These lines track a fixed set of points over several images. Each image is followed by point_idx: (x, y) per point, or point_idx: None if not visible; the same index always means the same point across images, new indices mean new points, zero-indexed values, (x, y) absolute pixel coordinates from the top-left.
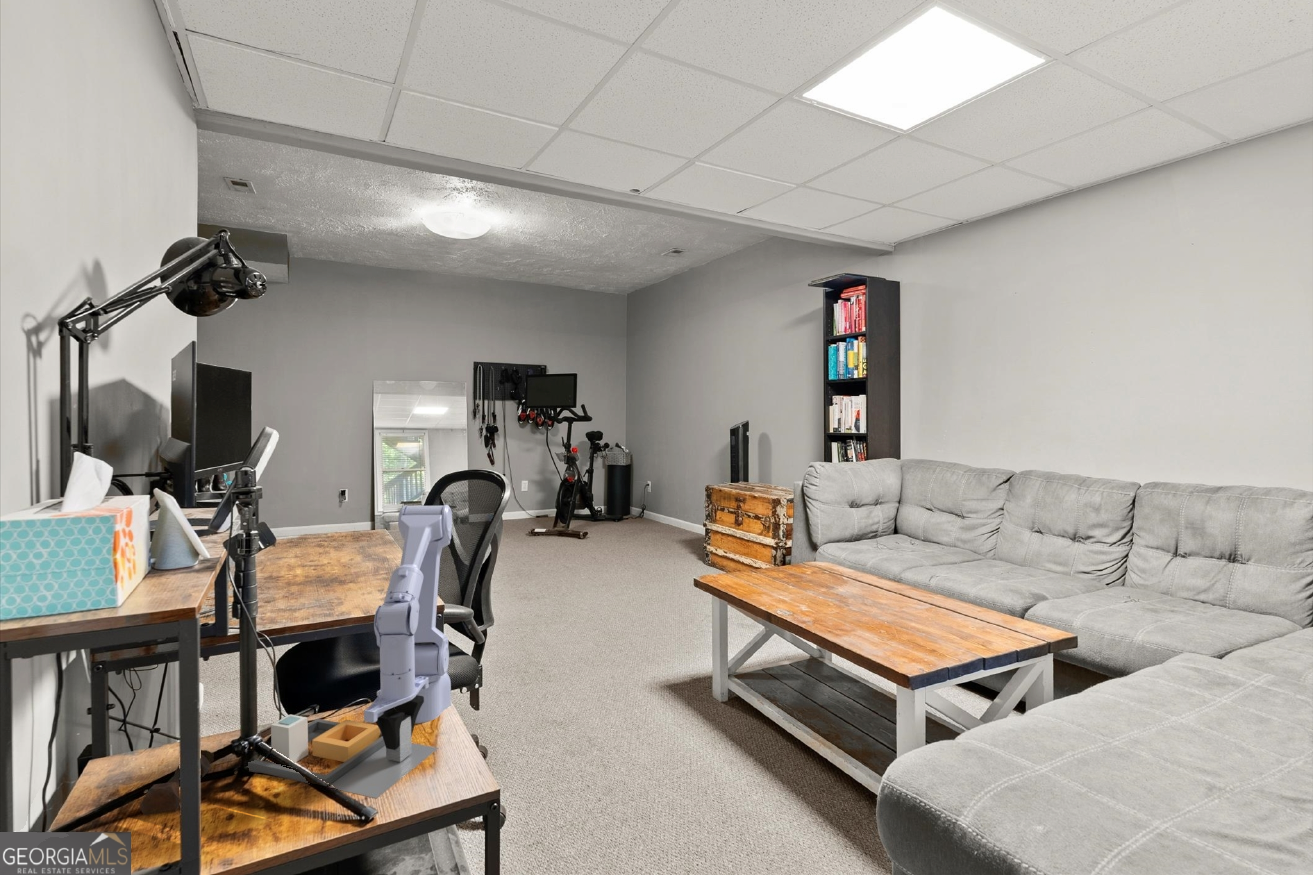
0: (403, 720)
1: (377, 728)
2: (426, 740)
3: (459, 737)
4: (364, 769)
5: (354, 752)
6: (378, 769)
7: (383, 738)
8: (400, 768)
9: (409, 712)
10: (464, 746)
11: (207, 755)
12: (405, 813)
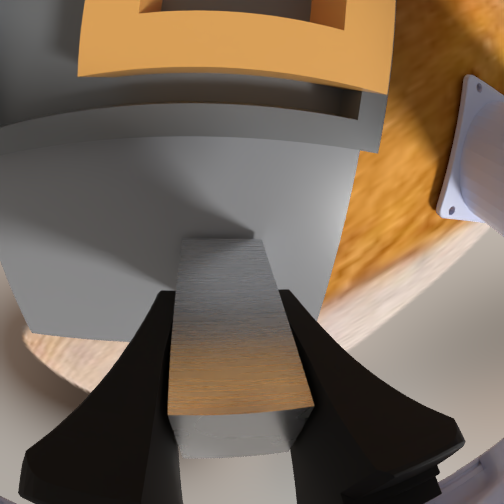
0: (221, 456)
1: (362, 87)
2: (387, 240)
3: (395, 313)
4: (93, 196)
5: (146, 72)
6: (117, 249)
7: (142, 324)
8: None
9: (299, 457)
10: (349, 347)
11: None
12: (66, 374)
